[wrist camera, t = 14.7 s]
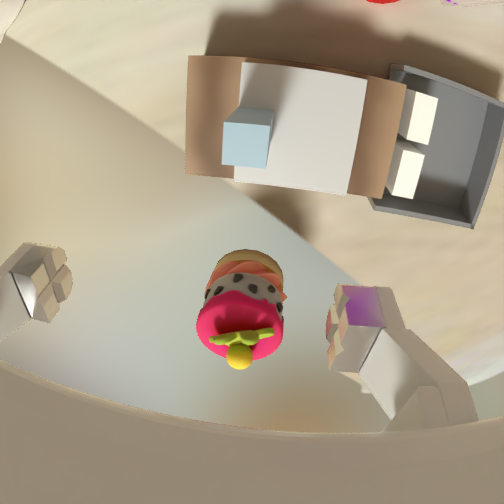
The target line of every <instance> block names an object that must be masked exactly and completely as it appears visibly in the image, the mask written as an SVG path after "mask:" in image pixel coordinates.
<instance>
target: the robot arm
mask: <svg viewBox="0 0 504 504" xmlns="http://www.w3.org/2000/svg"><path fill="white" fill-rule="evenodd" d="M24 1H25V0H0V44H1V41H2V39H3V37H4V34H5V32H6V30H7V29H8V27H9V26H10V25H11V24H12V22H13V21H14V20H15V18H16V17H17V15H18V13H19V12H20V10H21V8H22V6H23V4H24ZM66 261H67V257H66V254H65V251H64V250H63V249H62V248H60V247H54V246H48V245H43V244H37V243H32V242H26V243H23V244H22V245H21V246H20V247H19V248H18V249H17V250H16V251H15V252H14V253H13V254H12V255H11V256H10V257H9V258H8V259H7V260H6V261H5V262H4V263H3V264H2V265H1V267H0V342H1V341H2V340H4V339H5V338H6V337H8V336H9V335H10V334H11V333H13V332H14V331H16V330H17V329H18V328H19V327H21V326H22V325H24V324H25V323H26V322H27V321H29V320H30V318H32V319H36V320H40V321H44V322H47V323H50V322H51V321H52V319H53V318H54V316H55V315H56V313H57V312H58V310H59V309H60V308H59V303H60V302H62V301H64V300H65V299H66V298H67V297H68V296H69V294H70V292H71V288H72V284H73V283H72V275H71V271H70V270H69V268H68V267H67V266H66V265H65V263H66ZM334 299H335V303H334V304H333V305H332V306H330V309H329V312H328V316H327V322H326V339H327V340H328V341H329V343H330V346H329V349H328V362H329V371H340V372H354V373H358V375H359V376H360V377H361V379H362V380H363V382H364V383H365V384H366V386H367V387H368V389H369V390H370V391H371V393H372V394H373V396H374V397H375V398H376V400H377V401H378V403H379V404H380V405H381V407H382V408H383V410H384V411H385V412H386V414H387V415H388V417H389V418H390V419H391V421H390V422H389V423H388V424H387V425H386V426H385V428H384V429H383V430H382V431H381V432H378V433H377V432H375V433H309V432H291V431H290V432H289V431H277V430H265V429H255V428H246V427H237V426H230V425H223V424H216V423H210V422H203V421H198V420H192V419H187V418H181V417H176V416H171V415H167V414H162V413H157V412H153V411H148V410H145V409H140V408H136V407H132V406H129V405H125V404H121V403H117V402H114V401H110V400H106V399H103V398H100V397H97V396H94V395H90V394H87V393H84V392H81V391H78V390H75V389H72V388H69V387H66V386H63V385H60V384H58V383H55V382H52V381H50V380H47V379H44V378H42V377H39V376H37V375H34V374H32V373H29V372H27V371H25V370H22V369H20V368H18V367H15V366H13V365H11V364H9V363H6V362H4V361H2V360H0V504H504V416H501V417H496V418H492V419H487V420H482V421H479V420H478V417H477V413H476V410H475V406H474V403H473V400H472V397H471V394H470V391H469V388H468V385H467V382H466V381H465V380H464V379H463V378H462V377H461V376H460V375H458V374H457V373H456V372H455V371H454V370H453V369H452V368H451V367H450V366H449V365H448V364H447V363H446V362H445V361H444V360H443V359H442V358H441V357H439V356H438V355H437V354H436V353H435V352H434V351H433V350H432V349H431V348H430V347H429V346H428V345H427V344H425V343H424V342H423V341H422V340H421V339H420V338H419V337H418V336H417V335H416V334H415V333H414V332H412V331H411V330H408V329H405V326H404V323H403V320H402V317H401V314H400V311H399V308H398V305H397V302H396V300H395V297H394V294H393V291H392V289H390V288H389V287H375V286H373V287H369V286H358V285H348V284H338V285H337V287H336V290H335V293H334Z"/></svg>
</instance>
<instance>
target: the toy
mask: <svg viewBox="0 0 504 504" xmlns="http://www.w3.org/2000/svg"><path fill="white" fill-rule="evenodd" d="M367 1H369V2H374V3H380V4H385V3H392V2H397V1H399V0H367ZM440 1H441V3H442V5H443V6H444V5H448V4H450V5H451V6H455V5H462V6H466V7H469V6H475V5H482V4H490V3H499V2H504V0H440Z"/></svg>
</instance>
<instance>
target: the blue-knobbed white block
mask: <svg viewBox="0 0 504 504" xmlns="http://www.w3.org/2000/svg"><path fill="white" fill-rule="evenodd" d="M366 87H367V80H366V79H362V78H357V77H352V76H347V75H342V74H337V73H331V72H325V71H319V70H313V69H306V68H299V67H291V66H282V65H273V64H262V63H249V62H242V68H241V81H240V94H239V107H238V108H237V109H236V110H235V111H234V112H233V113H232V114H231V115H230V116H229V117H228V118H227V119H226V120H225V121H224V127H223V145H222V165H233V166H234V181H235V182H245V183H254V184H263V185H271V186H280V187H288V188H296V189H303V190H310V191H318V192H324V193H331V194H338V195H344V196H346V193H347V189H348V184H349V179H350V175H351V170H352V165H353V160H354V155H355V150H356V145H357V139H358V134H359V129H360V123H361V117H362V111H363V105H364V99H365V93H366Z"/></svg>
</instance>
